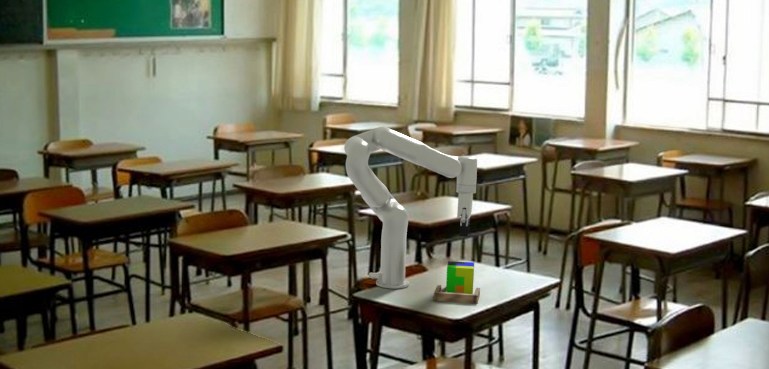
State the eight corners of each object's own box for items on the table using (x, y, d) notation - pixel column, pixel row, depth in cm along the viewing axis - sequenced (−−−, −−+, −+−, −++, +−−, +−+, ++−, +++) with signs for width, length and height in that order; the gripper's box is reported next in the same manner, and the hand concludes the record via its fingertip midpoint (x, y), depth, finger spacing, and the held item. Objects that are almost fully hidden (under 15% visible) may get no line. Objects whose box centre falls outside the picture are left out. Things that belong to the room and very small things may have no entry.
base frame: (433, 300, 389) (433, 292, 389) (437, 292, 400) (437, 285, 400) (477, 303, 387) (477, 295, 386) (479, 295, 398) (480, 287, 397)
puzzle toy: (473, 287, 409) (474, 262, 408) (472, 294, 399) (473, 268, 398) (447, 286, 410) (448, 261, 409) (446, 293, 400) (447, 267, 399)
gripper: (458, 184, 418) (456, 229, 421) (454, 191, 402) (452, 238, 405) (477, 185, 417) (475, 231, 420) (474, 192, 400) (472, 240, 403)
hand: (464, 234), depth 412 cm, fingers open, 4 cm apart
